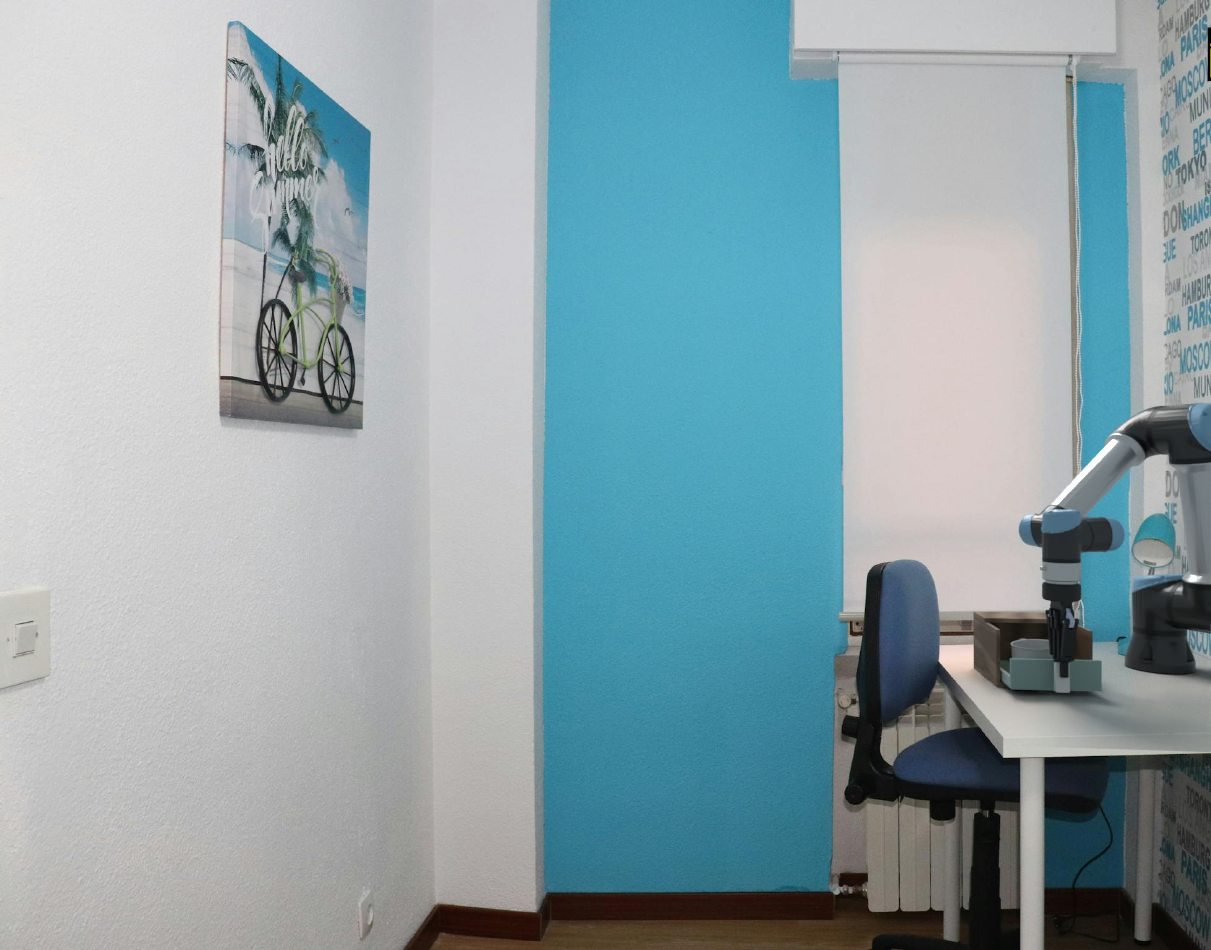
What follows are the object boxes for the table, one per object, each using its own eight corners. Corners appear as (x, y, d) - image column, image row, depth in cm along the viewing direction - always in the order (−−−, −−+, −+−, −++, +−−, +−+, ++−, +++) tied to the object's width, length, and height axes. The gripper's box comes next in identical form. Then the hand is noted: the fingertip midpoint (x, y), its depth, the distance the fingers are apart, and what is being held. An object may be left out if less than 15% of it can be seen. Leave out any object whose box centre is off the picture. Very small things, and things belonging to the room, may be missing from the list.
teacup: (1069, 684, 204) (1069, 647, 204) (1017, 682, 206) (1017, 646, 206) (1051, 670, 218) (1051, 636, 218) (1002, 669, 220) (1002, 635, 220)
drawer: (1068, 671, 220) (1068, 643, 220) (1101, 691, 201) (1101, 661, 201) (986, 669, 223) (986, 642, 223) (1011, 689, 203) (1011, 659, 203)
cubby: (1061, 669, 228) (1061, 612, 228) (1092, 689, 208) (1092, 626, 208) (973, 667, 231) (973, 611, 231) (996, 686, 211) (996, 625, 211)
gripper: (1032, 578, 206) (1033, 684, 206) (1053, 585, 193) (1054, 699, 193) (1068, 578, 205) (1069, 685, 205) (1091, 585, 192) (1092, 699, 192)
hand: (1061, 691), depth 199 cm, fingers closed
